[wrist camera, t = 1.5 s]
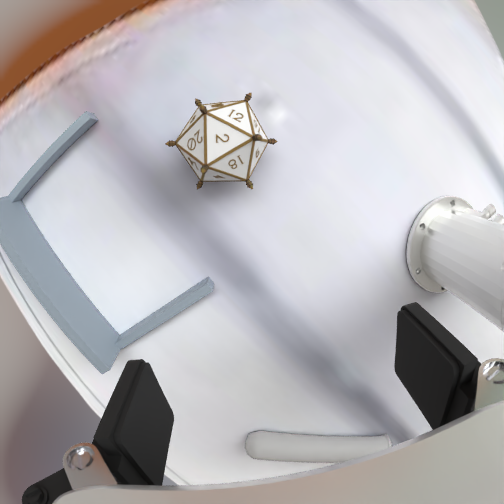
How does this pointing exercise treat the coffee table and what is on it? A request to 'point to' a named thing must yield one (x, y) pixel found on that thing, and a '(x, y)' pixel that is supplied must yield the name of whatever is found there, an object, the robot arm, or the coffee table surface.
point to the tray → (58, 278)
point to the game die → (223, 141)
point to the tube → (312, 447)
